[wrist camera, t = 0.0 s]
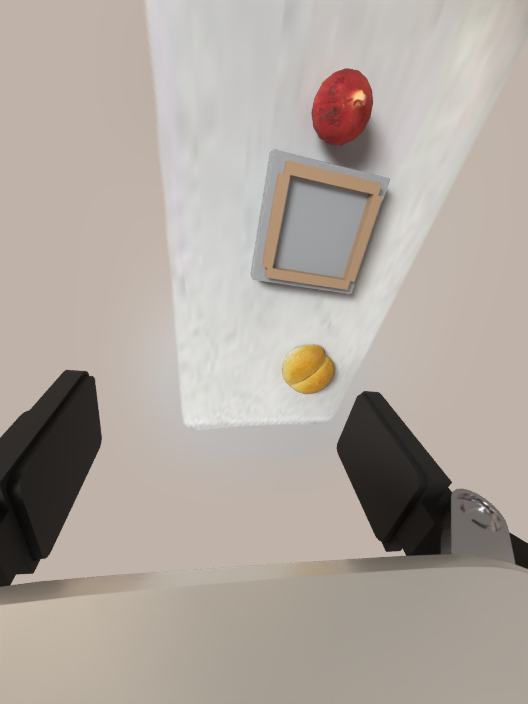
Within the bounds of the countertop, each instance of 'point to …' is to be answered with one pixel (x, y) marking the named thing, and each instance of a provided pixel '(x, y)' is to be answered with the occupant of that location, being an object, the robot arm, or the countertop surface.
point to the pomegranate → (342, 107)
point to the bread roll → (307, 369)
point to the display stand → (315, 223)
